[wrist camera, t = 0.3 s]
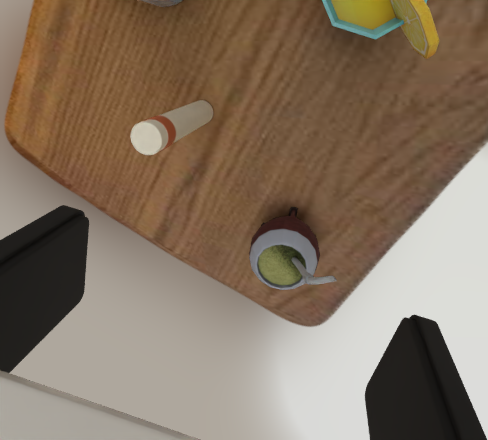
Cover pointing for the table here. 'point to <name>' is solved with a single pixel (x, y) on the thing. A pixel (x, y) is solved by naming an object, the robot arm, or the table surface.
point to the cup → (387, 20)
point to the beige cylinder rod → (169, 127)
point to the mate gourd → (286, 253)
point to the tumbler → (161, 2)
